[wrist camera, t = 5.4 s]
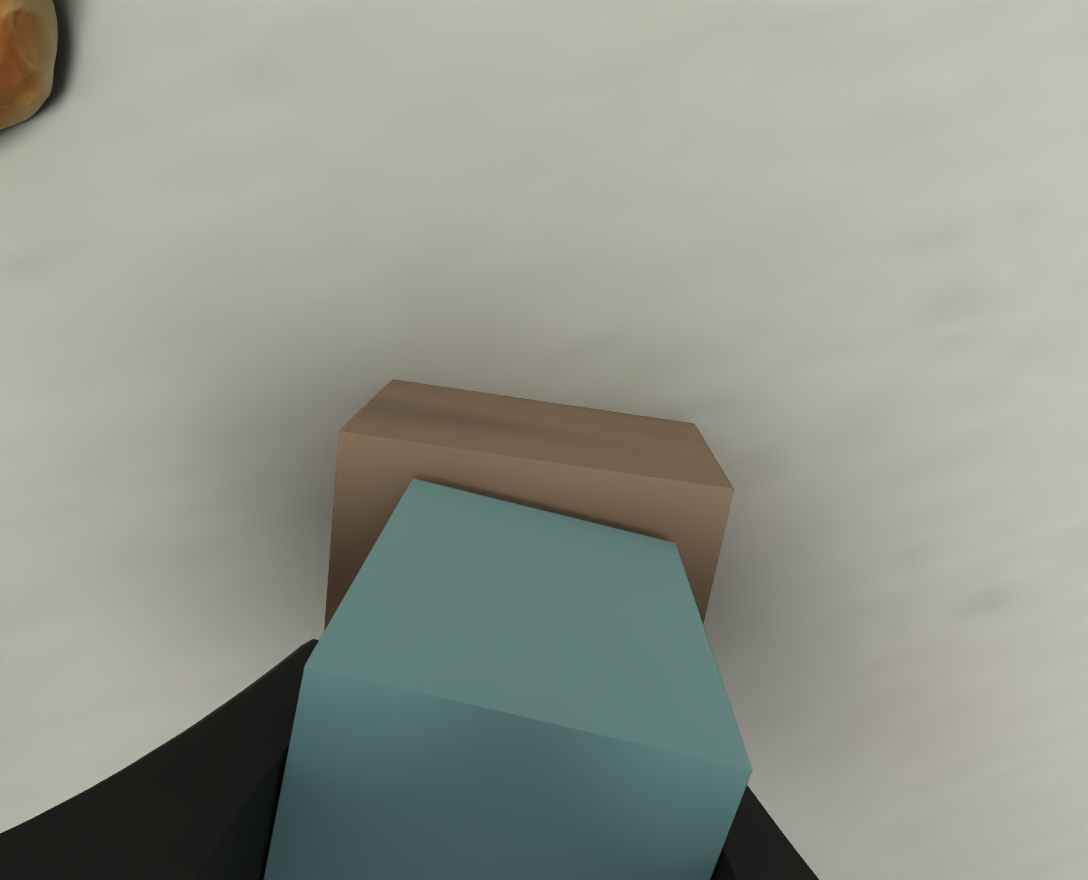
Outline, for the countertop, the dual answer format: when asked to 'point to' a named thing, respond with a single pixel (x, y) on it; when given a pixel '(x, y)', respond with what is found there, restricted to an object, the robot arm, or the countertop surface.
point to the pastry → (26, 57)
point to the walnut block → (527, 471)
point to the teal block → (509, 709)
